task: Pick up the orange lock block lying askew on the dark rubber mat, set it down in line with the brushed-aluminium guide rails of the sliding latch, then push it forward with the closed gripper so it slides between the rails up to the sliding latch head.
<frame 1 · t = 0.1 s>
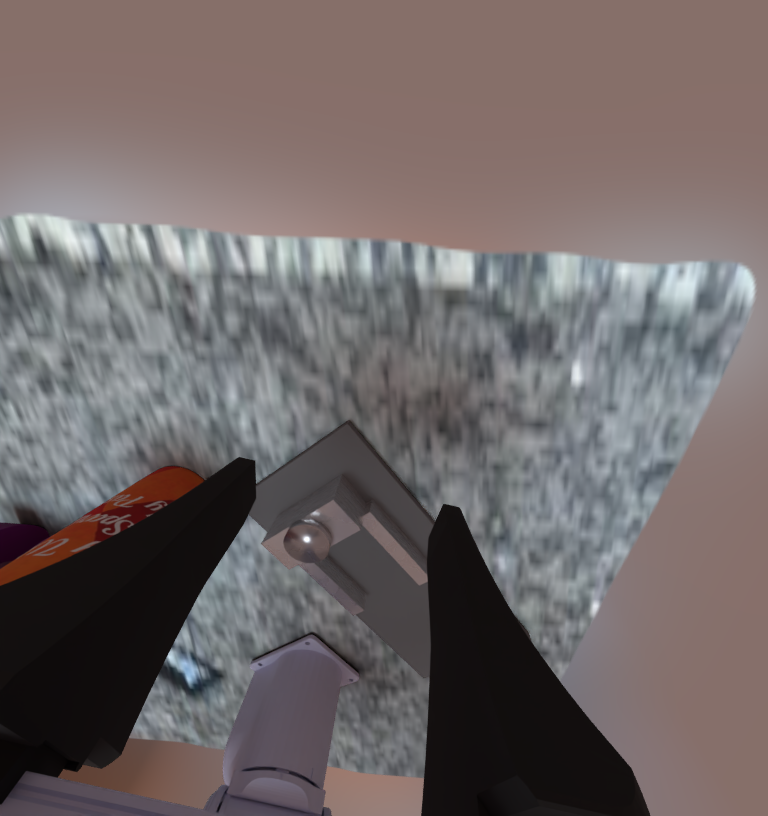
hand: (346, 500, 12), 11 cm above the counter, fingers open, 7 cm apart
paper cup: (183, 492, 26), on the counter
mat: (393, 569, 27), on the counter
sliding latch: (363, 552, 26), resting on mat
mounting bracket: (98, 580, 31), on the counter
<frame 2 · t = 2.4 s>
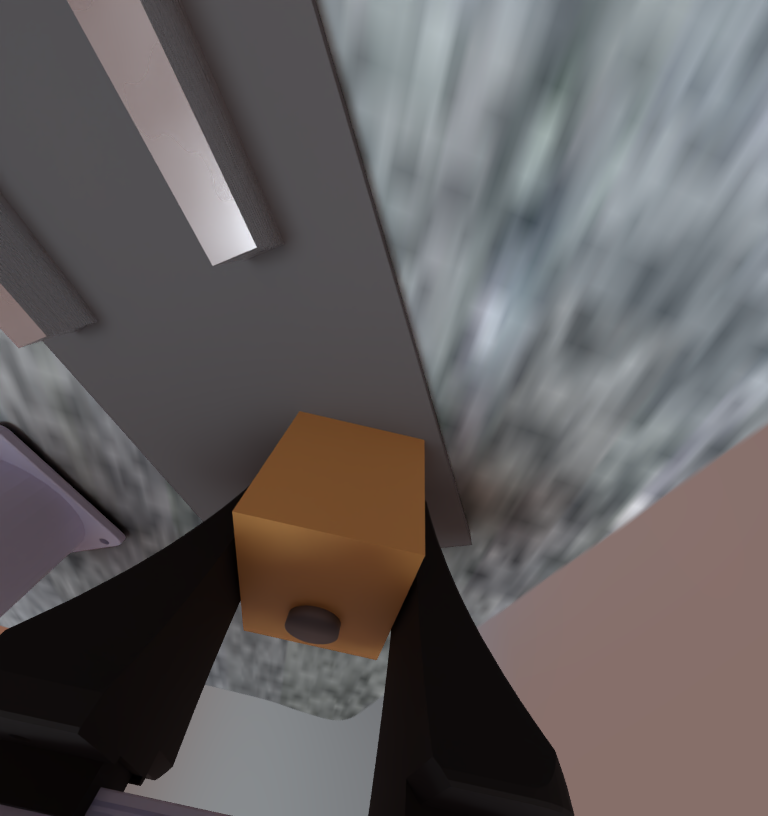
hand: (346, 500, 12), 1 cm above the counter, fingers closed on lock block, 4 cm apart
lock block: (350, 485, 12), point 1 cm above the counter, touching gripper, mat
mat: (183, 267, 9), on the counter
sliding latch: (58, 122, 7), resting on mat
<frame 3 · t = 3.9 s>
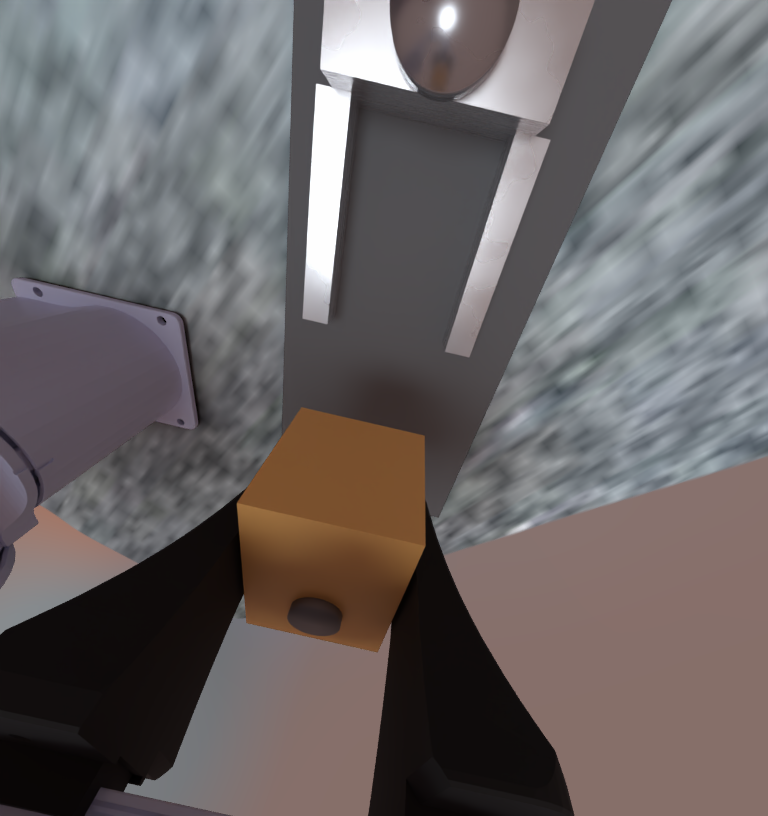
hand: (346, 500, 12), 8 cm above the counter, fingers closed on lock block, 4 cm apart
lock block: (351, 480, 12), point 7 cm above the counter, touching gripper
mat: (401, 318, 16), on the counter
sliding latch: (407, 242, 14), resting on mat
when the fingers open (2 cm above the counter, at t = 5.4 s): lock block stays where it is, resting on mat.
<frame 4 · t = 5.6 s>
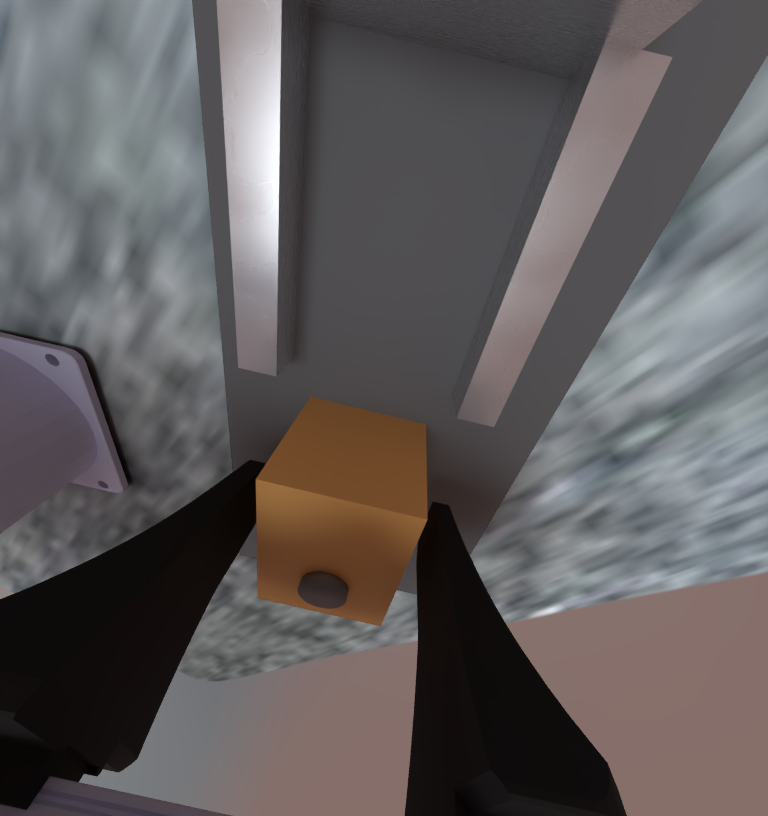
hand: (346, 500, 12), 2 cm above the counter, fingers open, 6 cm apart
lock block: (355, 467, 13), point 1 cm above the counter, touching mat
mat: (392, 359, 11), on the counter
sliding latch: (399, 251, 9), resting on mat
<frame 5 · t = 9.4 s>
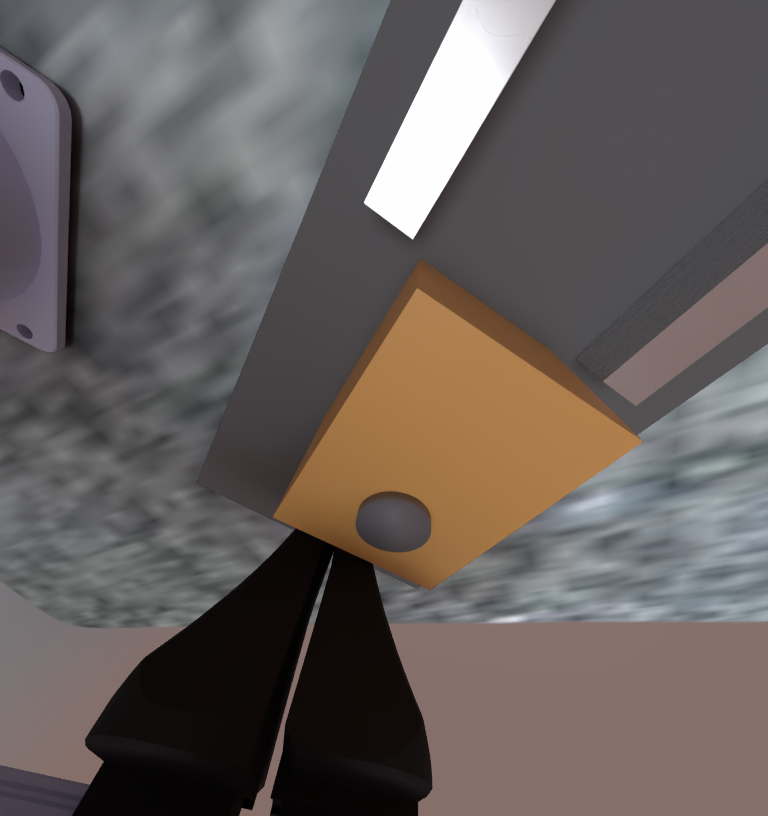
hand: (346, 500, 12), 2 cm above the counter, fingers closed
lock block: (424, 386, 10), point 1 cm above the counter, touching gripper
mat: (521, 291, 9), on the counter
sliding latch: (636, 136, 6), resting on mat
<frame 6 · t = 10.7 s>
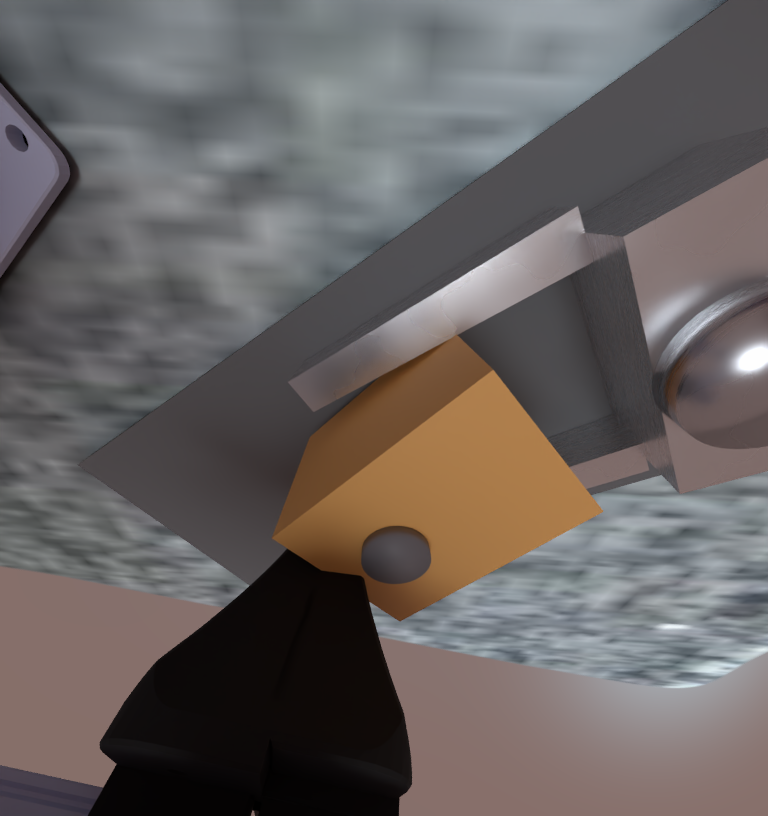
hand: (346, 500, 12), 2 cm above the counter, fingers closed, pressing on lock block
lock block: (414, 427, 11), point 1 cm above the counter, tilted 9°, touching sliding latch, gripper, mat
mat: (389, 437, 12), on the counter
sliding latch: (466, 400, 11), resting on mat
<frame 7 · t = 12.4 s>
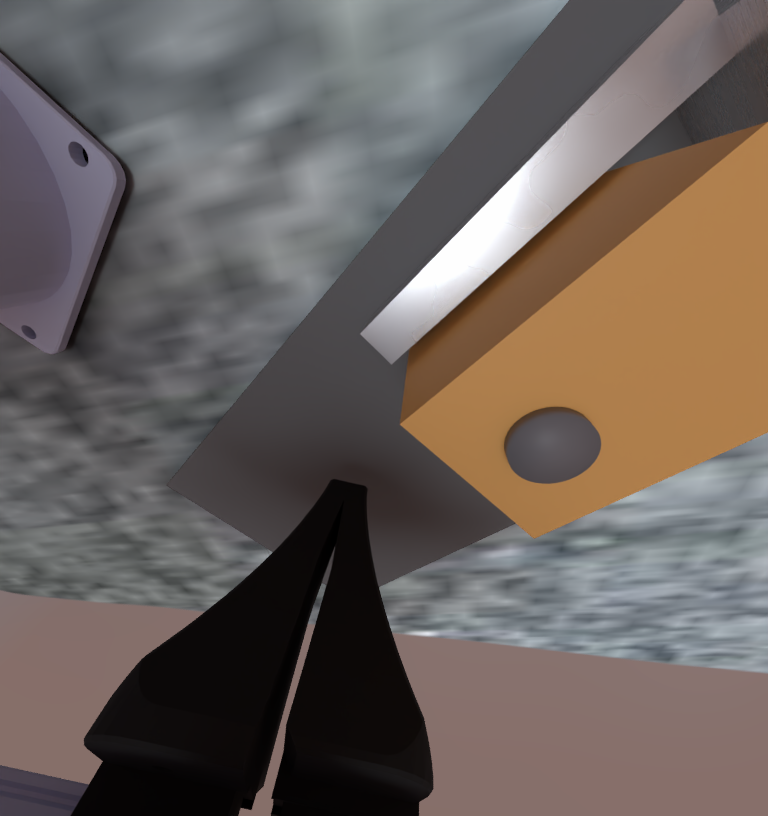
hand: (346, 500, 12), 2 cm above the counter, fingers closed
lock block: (533, 332, 9), point 1 cm above the counter, touching mat
mat: (471, 395, 11), on the counter
sliding latch: (560, 323, 9), resting on mat
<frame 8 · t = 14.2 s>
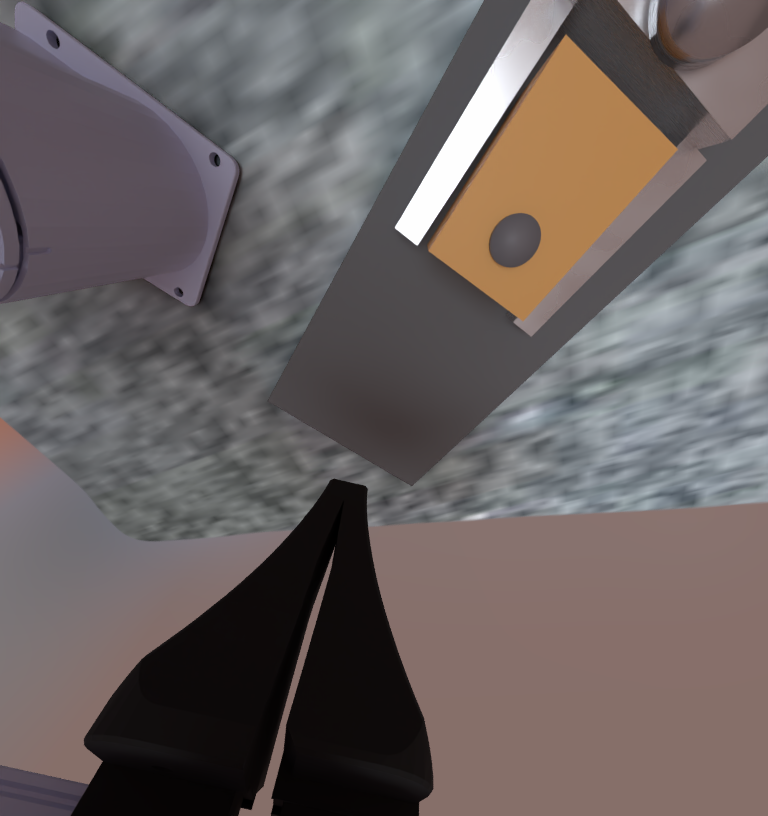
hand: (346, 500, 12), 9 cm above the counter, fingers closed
lock block: (508, 211, 14), point 1 cm above the counter, touching mat
mat: (476, 276, 16), on the counter
sliding latch: (525, 200, 13), resting on mat
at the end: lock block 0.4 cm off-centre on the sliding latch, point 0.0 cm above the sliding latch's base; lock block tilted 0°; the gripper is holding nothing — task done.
